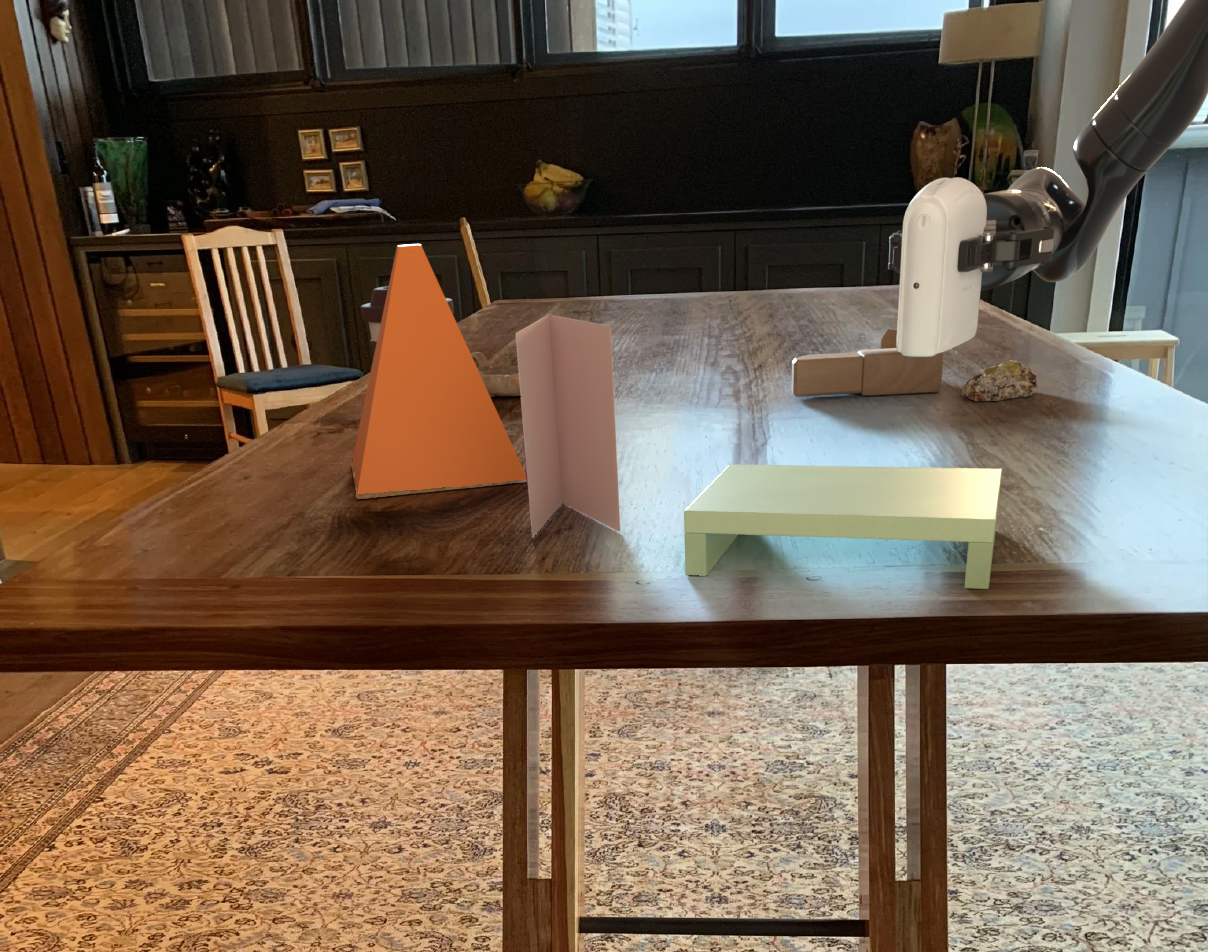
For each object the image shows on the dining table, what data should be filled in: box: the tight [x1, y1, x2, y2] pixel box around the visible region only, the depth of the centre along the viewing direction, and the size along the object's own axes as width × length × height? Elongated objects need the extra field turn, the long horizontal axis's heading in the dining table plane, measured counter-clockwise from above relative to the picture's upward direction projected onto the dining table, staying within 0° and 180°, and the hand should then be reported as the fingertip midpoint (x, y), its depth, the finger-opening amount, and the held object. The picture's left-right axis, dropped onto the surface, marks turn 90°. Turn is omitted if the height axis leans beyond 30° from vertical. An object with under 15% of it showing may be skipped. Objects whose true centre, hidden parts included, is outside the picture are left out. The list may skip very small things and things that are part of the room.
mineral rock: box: [961, 359, 1038, 403], centre depth 136 cm, size 11×4×8 cm
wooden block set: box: [791, 328, 945, 398], centre depth 145 cm, size 17×6×18 cm
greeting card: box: [515, 314, 621, 539], centre depth 93 cm, size 11×7×15 cm, turn 170°
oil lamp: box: [470, 351, 521, 397], centre depth 153 cm, size 13×8×5 cm, turn 43°
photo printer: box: [896, 176, 987, 357], centre depth 95 cm, size 10×4×12 cm, turn 147°
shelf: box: [683, 464, 1003, 590], centre depth 84 cm, size 20×14×4 cm
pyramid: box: [352, 243, 527, 494], centre depth 110 cm, size 16×16×20 cm
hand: (931, 257), depth 93 cm, fingers closed on photo printer, 4 cm apart
